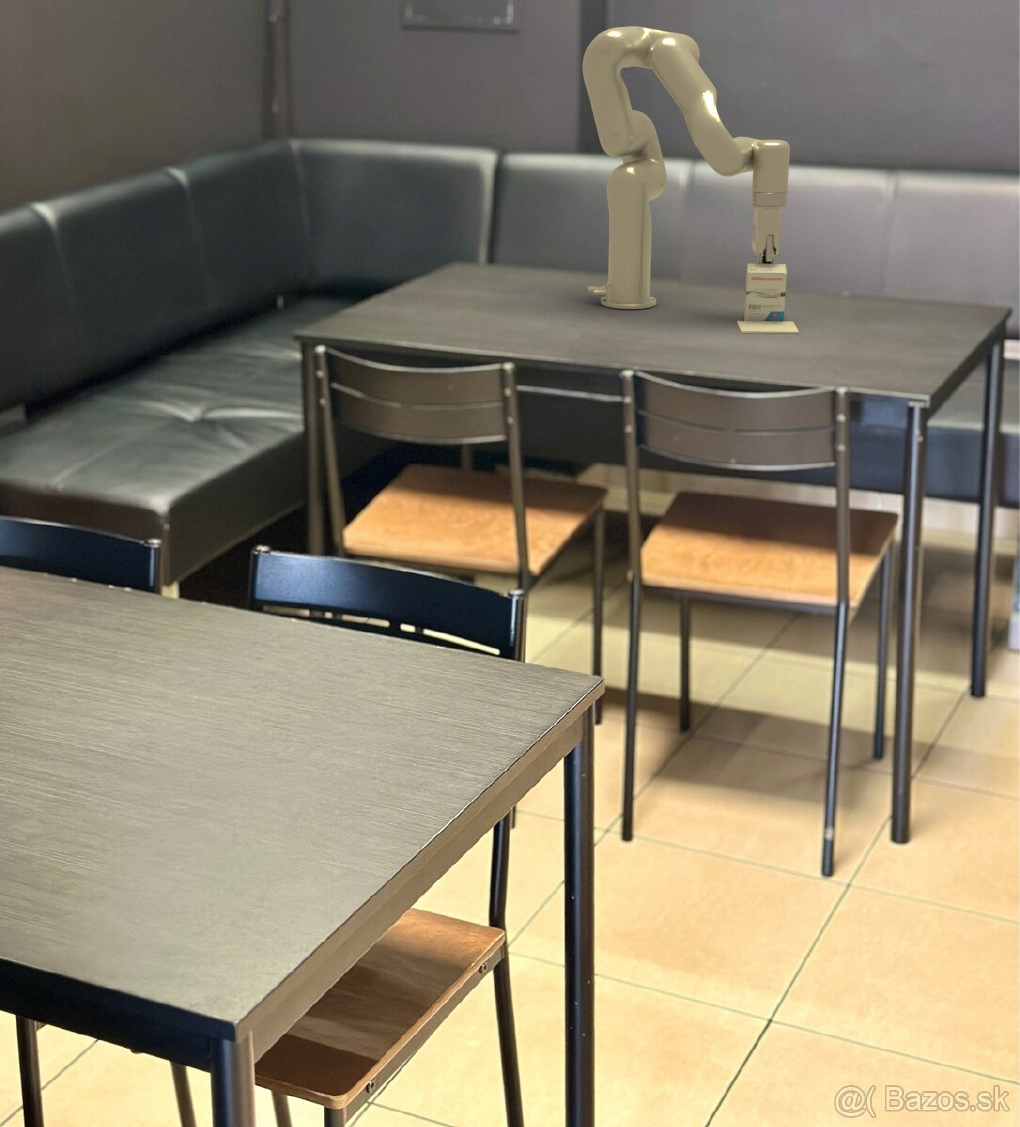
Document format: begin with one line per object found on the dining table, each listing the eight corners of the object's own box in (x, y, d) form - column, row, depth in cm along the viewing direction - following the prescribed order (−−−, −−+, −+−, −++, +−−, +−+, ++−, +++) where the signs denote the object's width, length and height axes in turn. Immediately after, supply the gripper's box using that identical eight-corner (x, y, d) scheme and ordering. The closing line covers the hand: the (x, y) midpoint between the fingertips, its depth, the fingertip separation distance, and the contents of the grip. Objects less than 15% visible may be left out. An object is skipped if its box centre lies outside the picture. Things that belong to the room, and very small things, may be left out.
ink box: (782, 311, 348) (786, 262, 341) (783, 322, 344) (787, 273, 337) (743, 310, 349) (746, 262, 342) (744, 321, 345) (747, 272, 338)
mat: (741, 333, 335) (741, 331, 334) (737, 322, 344) (737, 321, 344) (798, 333, 334) (798, 331, 334) (792, 323, 343) (793, 321, 343)
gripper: (747, 194, 347) (743, 278, 353) (755, 204, 333) (751, 291, 339) (782, 194, 347) (777, 278, 353) (791, 204, 333) (786, 292, 339)
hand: (764, 285), depth 346 cm, fingers closed
